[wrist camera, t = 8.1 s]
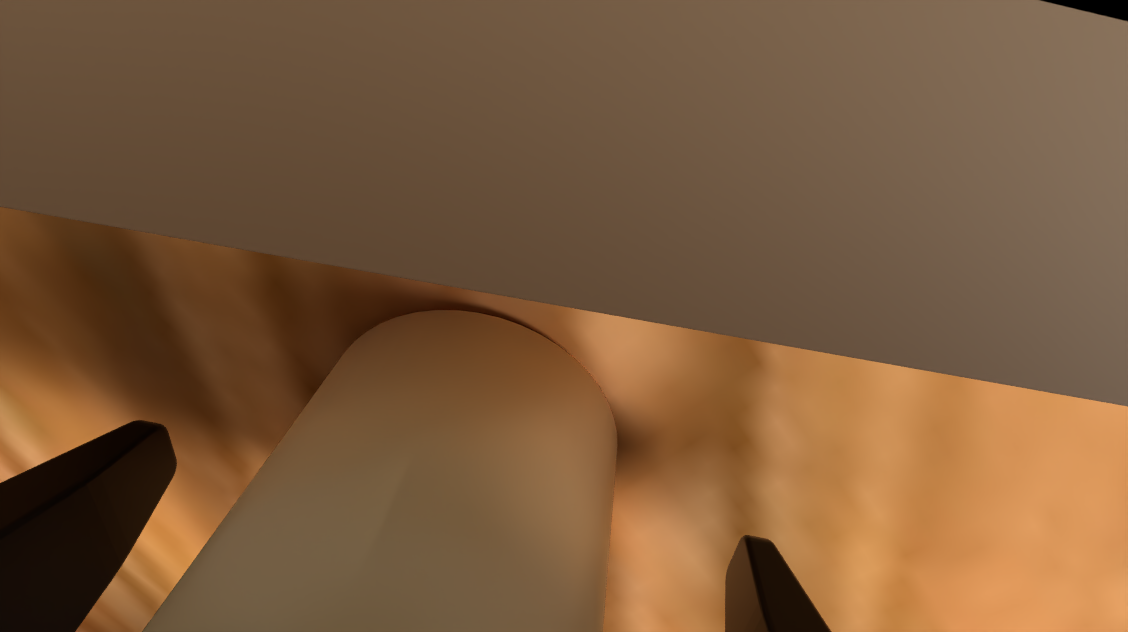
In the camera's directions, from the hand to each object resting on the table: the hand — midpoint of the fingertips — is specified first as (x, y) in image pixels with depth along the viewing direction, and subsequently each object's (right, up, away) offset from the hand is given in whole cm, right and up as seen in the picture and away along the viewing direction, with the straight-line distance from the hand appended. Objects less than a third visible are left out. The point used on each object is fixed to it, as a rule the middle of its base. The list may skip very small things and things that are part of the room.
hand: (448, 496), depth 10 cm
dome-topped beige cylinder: (0, +1, +1) cm, 1 cm away
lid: (+2, +8, -9) cm, 13 cm away
